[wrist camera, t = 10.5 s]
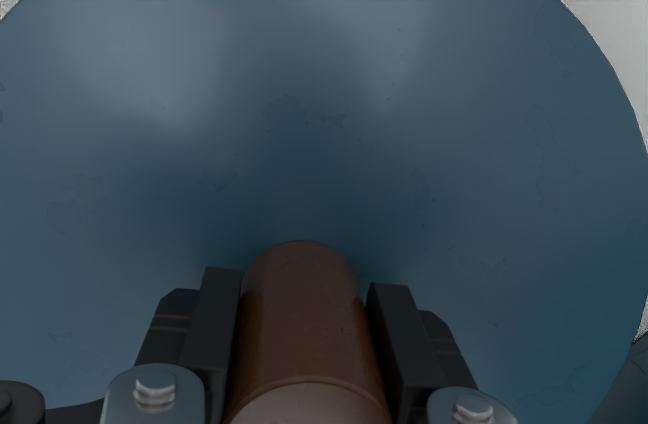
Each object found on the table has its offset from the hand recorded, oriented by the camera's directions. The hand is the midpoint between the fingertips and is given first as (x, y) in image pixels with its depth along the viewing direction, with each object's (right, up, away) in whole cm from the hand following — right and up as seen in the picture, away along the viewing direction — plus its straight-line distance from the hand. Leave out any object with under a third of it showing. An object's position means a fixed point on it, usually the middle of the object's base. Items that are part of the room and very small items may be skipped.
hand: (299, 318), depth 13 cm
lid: (0, +1, +1) cm, 2 cm away
